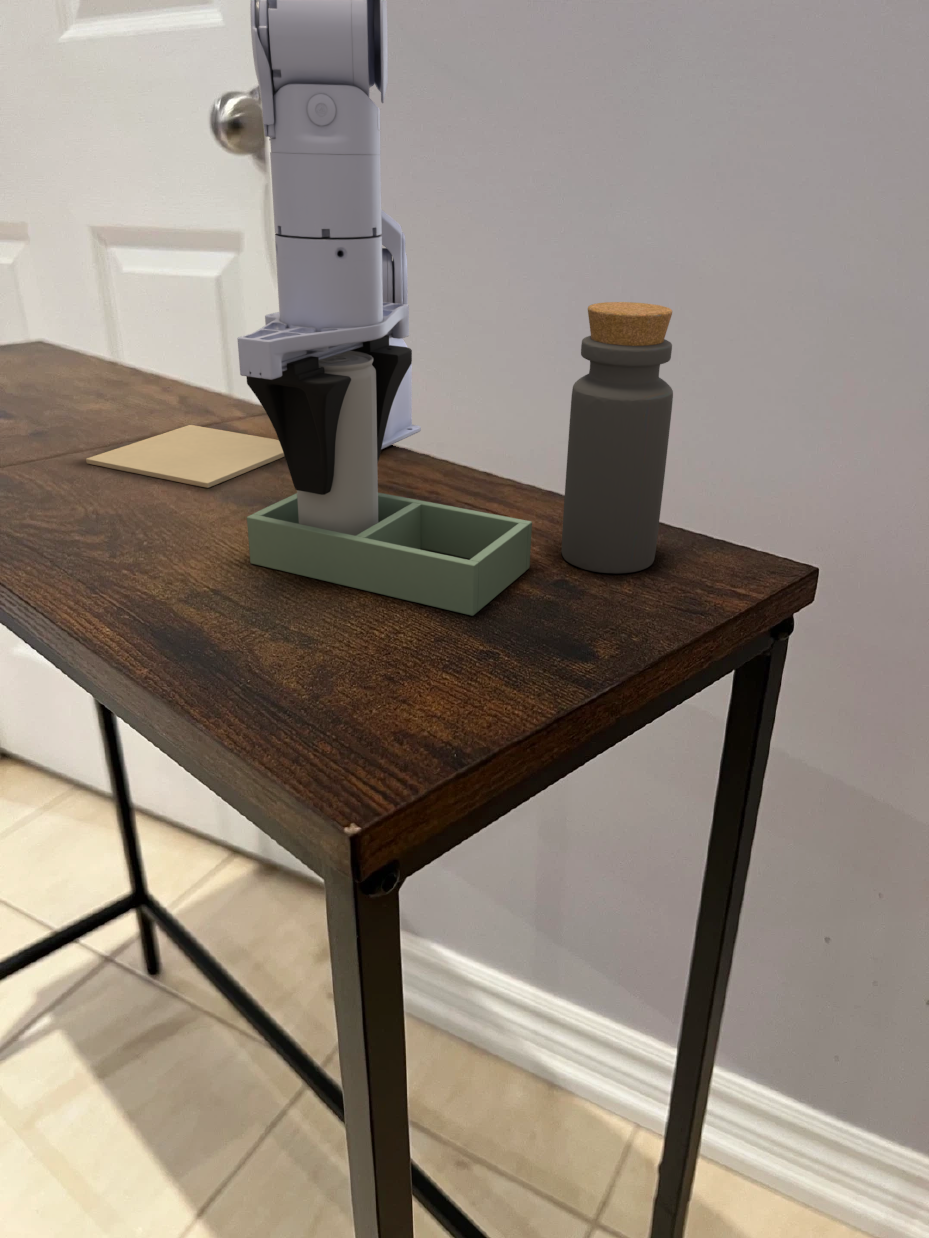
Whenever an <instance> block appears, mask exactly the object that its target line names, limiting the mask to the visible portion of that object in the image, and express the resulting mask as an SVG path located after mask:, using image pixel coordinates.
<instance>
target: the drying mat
mask: <svg viewBox="0 0 929 1238" xmlns="http://www.w3.org/2000/svg"><path fill="white" fill-rule="evenodd" d="M282 458H285V456H284V453H283V450H282V447H281V444H280V442H279V439H276V438H275V439H274V438H270V437H265V436H264V437H263V436H257V435H252V434H246V433H242V432H241V433H240V432H235V431H228V430H224V429H223V430H222V429H217V428H212V427H205V426H200V425H194V424H188V425H185V426H181V427H179V428H176V429H173V430H170V431H167V432H164V433H160V434H158V435H155V436H151V437H149V438H146V439H142V440H139V441H136V442H133V443H130V444H127V445H124V446H120V447H117V448H115V449H111V450H108V451H106V452H102V453H99V454H97V455H96V454H95V455H93V456H90V457H86V458H85V460H86V464H88V465H93V466H98V467H103V468H108V469H112V470H118V471H122V472H127V473H132V474H138V475H142V476H146V477H152V478H156V479H162V480H166V481H171V482H177V483H182V484H187V485H191V486H196V487H202V488H205V489H209V488H212V487H214V486H216V485H218V484H221V483H224V482H226V481H229V480H231V479H233V478H235V477H238V476H241V475H243V474H245V473H248V472H250V471H253V470H255V469H258V468H260V467H263V466H265V465H267V464H271V463H272V462H274V461H277V460H279V459H282Z"/></svg>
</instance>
